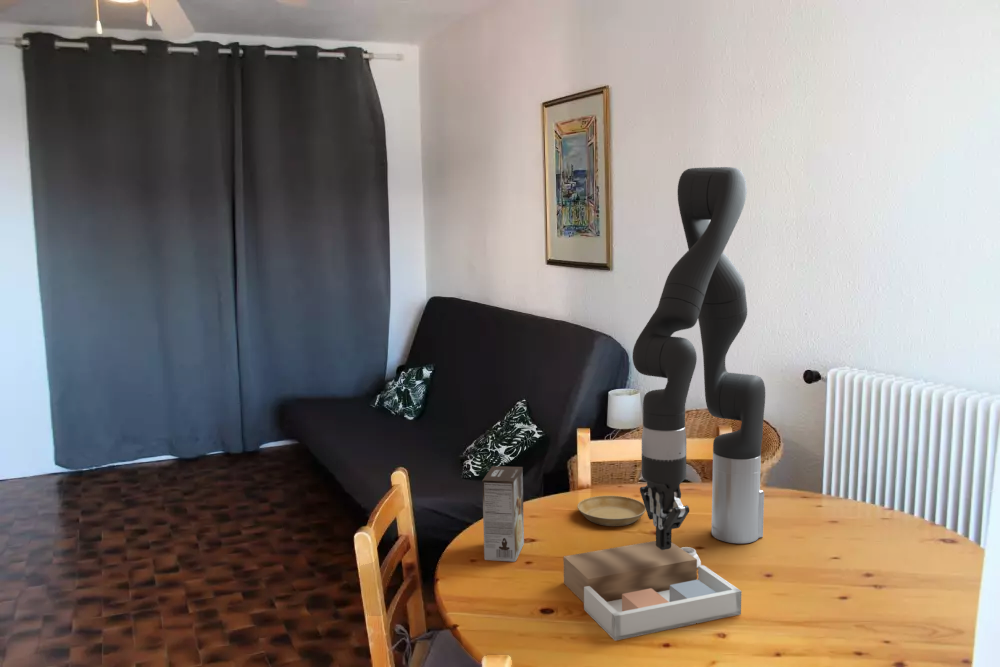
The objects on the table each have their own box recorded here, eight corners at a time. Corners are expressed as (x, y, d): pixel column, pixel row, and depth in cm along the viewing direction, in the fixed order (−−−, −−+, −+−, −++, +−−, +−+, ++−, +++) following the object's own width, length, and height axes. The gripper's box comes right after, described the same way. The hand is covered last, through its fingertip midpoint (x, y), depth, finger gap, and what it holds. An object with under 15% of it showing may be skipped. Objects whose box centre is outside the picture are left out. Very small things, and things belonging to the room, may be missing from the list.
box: (702, 586, 148) (703, 564, 147) (740, 614, 137) (741, 591, 137) (584, 609, 140) (584, 586, 139) (614, 640, 130) (615, 616, 129)
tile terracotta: (669, 602, 134) (669, 619, 135) (651, 588, 139) (651, 605, 140) (639, 608, 132) (639, 626, 133) (622, 594, 138) (622, 611, 138)
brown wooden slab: (666, 564, 157) (666, 538, 156) (696, 586, 148) (696, 559, 147) (563, 583, 150) (563, 556, 149) (588, 607, 141) (588, 578, 140)
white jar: (679, 572, 154) (705, 569, 155) (679, 556, 154) (705, 554, 155) (669, 561, 159) (693, 558, 160) (669, 546, 159) (694, 544, 160)
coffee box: (493, 542, 169) (491, 464, 167) (524, 543, 168) (523, 466, 166) (483, 560, 160) (481, 479, 158) (516, 562, 159) (515, 480, 157)
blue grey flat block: (717, 592, 137) (716, 610, 138) (697, 579, 142) (697, 596, 143) (688, 598, 135) (687, 616, 136) (669, 585, 140) (669, 602, 141)
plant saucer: (581, 504, 191) (581, 493, 190) (647, 507, 188) (647, 496, 187) (573, 528, 176) (573, 516, 176) (645, 532, 173) (645, 520, 173)
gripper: (704, 459, 139) (703, 558, 141) (662, 439, 151) (662, 530, 154) (664, 465, 136) (664, 566, 139) (625, 444, 148) (625, 537, 151)
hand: (663, 547), depth 146 cm, fingers closed
